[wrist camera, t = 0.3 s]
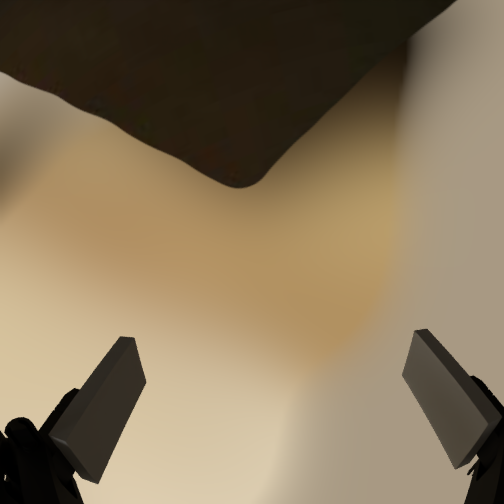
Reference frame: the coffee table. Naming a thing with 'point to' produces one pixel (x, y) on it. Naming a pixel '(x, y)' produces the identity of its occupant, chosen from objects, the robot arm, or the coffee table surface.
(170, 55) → the coffee table surface
